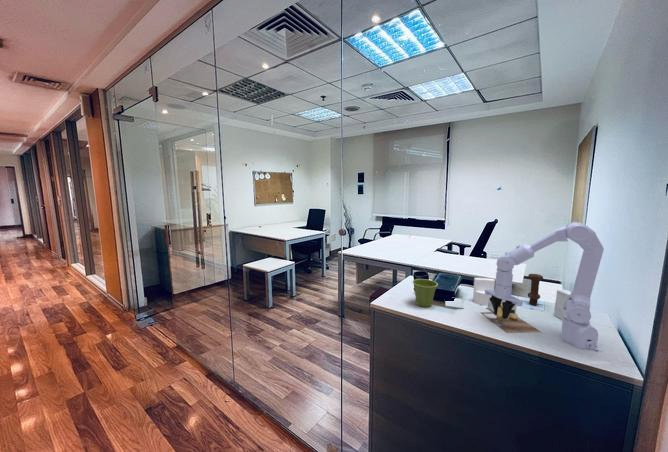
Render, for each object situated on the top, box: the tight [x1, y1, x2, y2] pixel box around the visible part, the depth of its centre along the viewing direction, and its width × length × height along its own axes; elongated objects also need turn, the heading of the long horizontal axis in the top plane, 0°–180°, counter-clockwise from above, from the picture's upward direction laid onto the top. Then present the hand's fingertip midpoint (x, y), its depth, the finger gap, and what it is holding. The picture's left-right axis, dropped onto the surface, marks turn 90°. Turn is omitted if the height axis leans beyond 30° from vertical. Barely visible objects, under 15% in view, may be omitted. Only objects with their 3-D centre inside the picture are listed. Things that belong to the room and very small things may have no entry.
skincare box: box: [553, 289, 572, 321], centre depth 117 cm, size 6×4×12 cm
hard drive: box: [444, 297, 465, 310], centre depth 133 cm, size 2×8×12 cm
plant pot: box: [412, 278, 439, 308], centre depth 132 cm, size 12×12×11 cm
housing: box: [487, 299, 518, 314], centre depth 122 cm, size 7×8×4 cm
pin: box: [495, 305, 506, 323], centre depth 111 cm, size 3×3×6 cm
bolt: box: [527, 273, 544, 306], centre depth 131 cm, size 6×5×15 cm
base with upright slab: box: [472, 277, 496, 307], centre depth 135 cm, size 9×9×12 cm
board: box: [480, 307, 542, 334], centre depth 115 cm, size 23×15×3 cm, turn 2°
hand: (501, 316), depth 111 cm, fingers closed on pin, 3 cm apart
